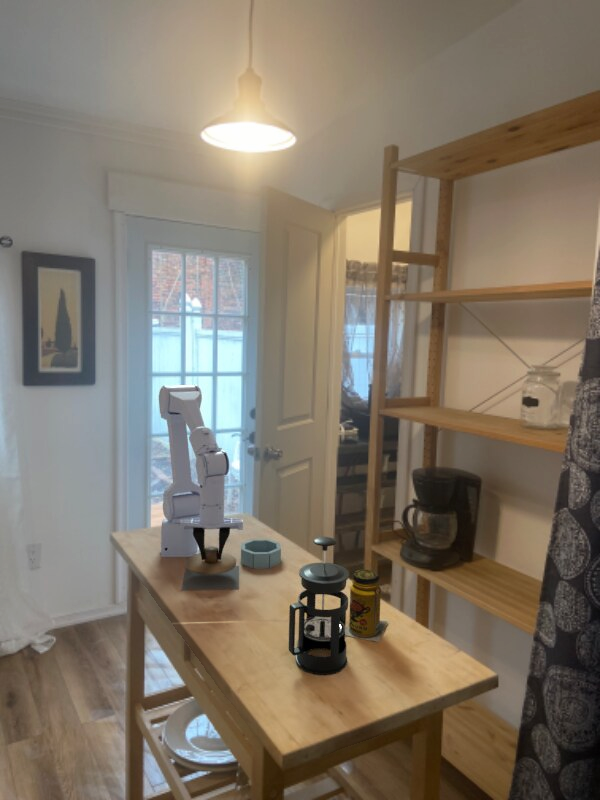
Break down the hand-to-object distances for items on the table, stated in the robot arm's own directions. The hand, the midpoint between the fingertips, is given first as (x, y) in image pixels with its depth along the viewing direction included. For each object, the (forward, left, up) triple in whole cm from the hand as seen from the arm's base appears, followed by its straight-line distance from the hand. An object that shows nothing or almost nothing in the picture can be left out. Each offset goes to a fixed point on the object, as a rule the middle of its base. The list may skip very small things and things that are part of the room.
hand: (211, 558), depth 142 cm
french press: (+21, -36, -5) cm, 42 cm away
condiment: (+32, -25, -5) cm, 41 cm away
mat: (0, 0, -5) cm, 5 cm away
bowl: (+12, +10, -5) cm, 16 cm away
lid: (0, 0, -2) cm, 2 cm away
